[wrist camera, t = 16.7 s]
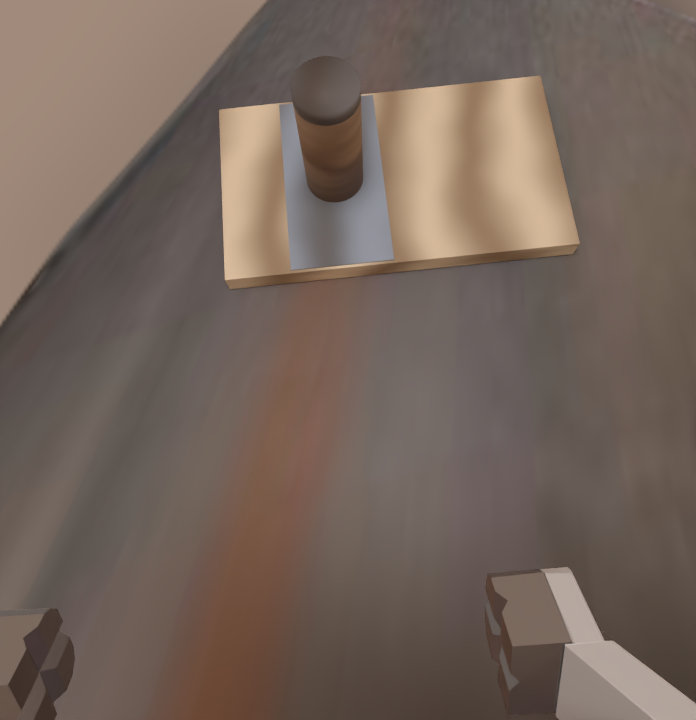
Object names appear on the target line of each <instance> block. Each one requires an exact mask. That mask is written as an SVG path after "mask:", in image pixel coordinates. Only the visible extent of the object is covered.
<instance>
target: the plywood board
mask: <svg viewBox="0 0 696 720" xmlns="http://www.w3.org/2000/svg"><path fill="white" fill-rule="evenodd" d="M361 117H362V152H363V183H362V186H361V188H360V189H359V191H358V192H357V193H356V194H355V195H354V196H353V197H351V198H350V199H348V200H345V201H342V202H326V201H323V200H321V199H319V198H317V197H316V196H315V195H314V194H313V193H312V192H311V191H310V189H309V187H308V184H307V179H306V173H305V168H304V162H303V156H302V151H301V145H300V140H299V134H298V129H297V123H296V118H295V112H294V107H293V102H287V103H278V104H268V105H259V106H250V107H240V108H231V109H221V110H219V120H220V149H221V178H222V207H223V236H224V265H225V281H226V283H227V285H228V287H229V288H230V289H238V288H248V287H257V286H267V285H277V284H287V283H296V282H306V281H316V280H326V279H335V278H345V277H355V276H365V275H374V274H384V273H394V272H404V271H413V270H423V269H433V268H443V267H452V266H462V265H472V264H482V263H491V262H501V261H511V260H521V259H530V258H540V257H550V256H560V255H569V254H573V253H574V252H575V250H576V249H577V247H578V246H579V244H580V243H579V238H578V234H577V230H576V226H575V221H574V217H573V213H572V209H571V204H570V200H569V196H568V192H567V187H566V183H565V179H564V174H563V170H562V166H561V162H560V157H559V153H558V149H557V145H556V140H555V136H554V132H553V128H552V123H551V119H550V115H549V111H548V106H547V102H546V98H545V94H544V89H543V85H542V81H541V77H540V76H534V77H524V78H515V79H505V80H496V81H486V82H477V83H467V84H458V85H448V86H439V87H429V88H420V89H410V90H401V91H392V92H382V93H373V94H363V95H361Z"/></svg>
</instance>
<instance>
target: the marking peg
mask: <svg viewBox="0 0 696 720" xmlns="http://www.w3.org/2000/svg"><path fill="white" fill-rule="evenodd" d="M290 90H291V96H292V101H293V107H294V112H295V118H296V123H297V129H298V134H299V140H300V145H301V151H302V156H303V162H304V168H305V173H306V179H307V184H308V187H309V189H310V191H311V192H312V193H313V194H314V195H315V196H316V197H317V198H319V199H321V200H323V201H326V202H342V201H345V200H348V199H350V198H351V197H353V196H354V195H355V194H356V193H357V192H358V191H359V189H360V188H361V186H362V183H363V152H362V117H361V82H360V77H359V74H358V72H357V70H356V69H355V68H354V67H353V66H352V65H351V64H350V63H349V62H347V61H345V60H343V59H341V58H337V57H332V56H322V57H317V58H313V59H311V60H309V61H307V62H305V63H303V64H302V65H301V66H300V67H299V68H298V69H297V70H296V71H295V73H294V74H293V76H292V79H291V83H290Z"/></svg>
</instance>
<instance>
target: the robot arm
mask: <svg viewBox="0 0 696 720" xmlns="http://www.w3.org/2000/svg"><path fill="white" fill-rule="evenodd" d="M486 592H487V596H488V599H489V601H488V602H487V603H486V605H485V626H486V635H487V640H488V645H489V649H490V653H491V657H492V659H494V660H495V661H496V662H497V663H498V664H499V667H498V683H499V686H500V690H501V693H502V697H503V701H504V704H505V708H506V711H507V715H530V714H551V713H556V717H557V718H558V719H559V720H696V703H694V702H693V701H692V700H690V699H689V698H688V697H686V696H685V695H684V694H683V693H681V692H680V691H679V690H677V689H676V688H675V687H673V686H672V685H671V684H669V683H668V682H667V681H665V680H664V679H663V678H661V677H660V676H659V675H658V674H656V673H655V672H654V671H652V670H651V669H650V668H648V667H647V666H646V665H644V664H643V663H642V662H640V661H639V660H638V659H637V658H635V657H634V656H633V655H631V654H630V653H629V652H627V651H626V650H625V649H623V648H622V647H621V646H619V645H618V644H617V643H615V642H614V641H604V638H603V636H602V634H601V632H600V630H599V628H598V626H597V624H596V622H595V619H594V617H593V615H592V613H591V611H590V609H589V607H588V605H587V603H586V601H585V598H584V596H583V594H582V592H581V590H580V588H579V586H578V584H577V582H576V579H575V577H574V575H573V573H572V571H571V570H570V569H569V568H568V567H562V568H550V569H541V570H539V569H535V570H523V571H512V572H501V573H490V574H487V577H486ZM62 622H63V620H62V618H61V616H60V614H59V612H58V610H57V609H53V608H46V609H26V610H6V611H0V720H55V718H56V715H57V712H56V709H55V706H54V702H55V701H56V700H57V699H58V698H59V697H60V696H61V695H62V694H63V693H64V692H65V691H66V690H67V688H68V685H69V683H70V680H71V678H72V675H73V668H74V661H75V655H74V647H73V644H72V641H71V639H70V637H69V636H67V635H66V634H64V633H63V632H61V631H60V630H59V629H60V627H61V624H62Z"/></svg>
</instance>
